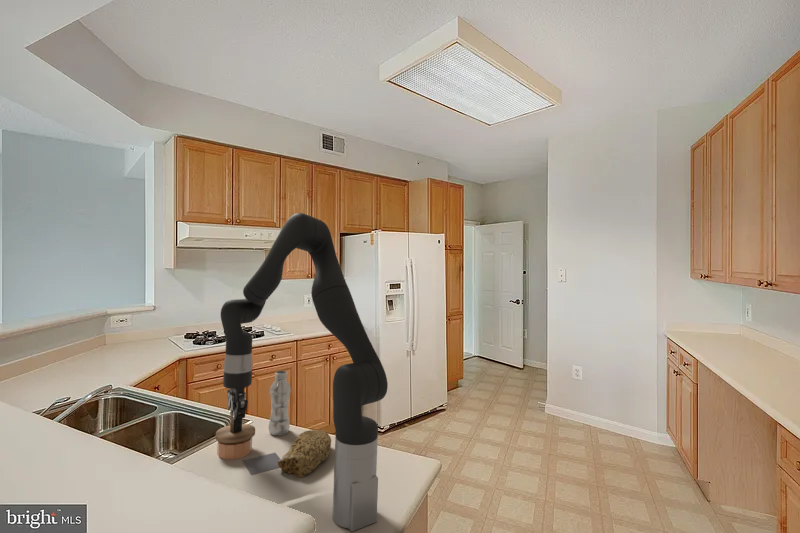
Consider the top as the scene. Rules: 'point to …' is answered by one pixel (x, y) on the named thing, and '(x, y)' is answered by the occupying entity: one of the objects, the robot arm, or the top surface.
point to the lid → (230, 437)
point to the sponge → (306, 453)
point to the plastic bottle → (279, 405)
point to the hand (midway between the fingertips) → (235, 429)
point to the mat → (262, 463)
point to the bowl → (234, 449)
